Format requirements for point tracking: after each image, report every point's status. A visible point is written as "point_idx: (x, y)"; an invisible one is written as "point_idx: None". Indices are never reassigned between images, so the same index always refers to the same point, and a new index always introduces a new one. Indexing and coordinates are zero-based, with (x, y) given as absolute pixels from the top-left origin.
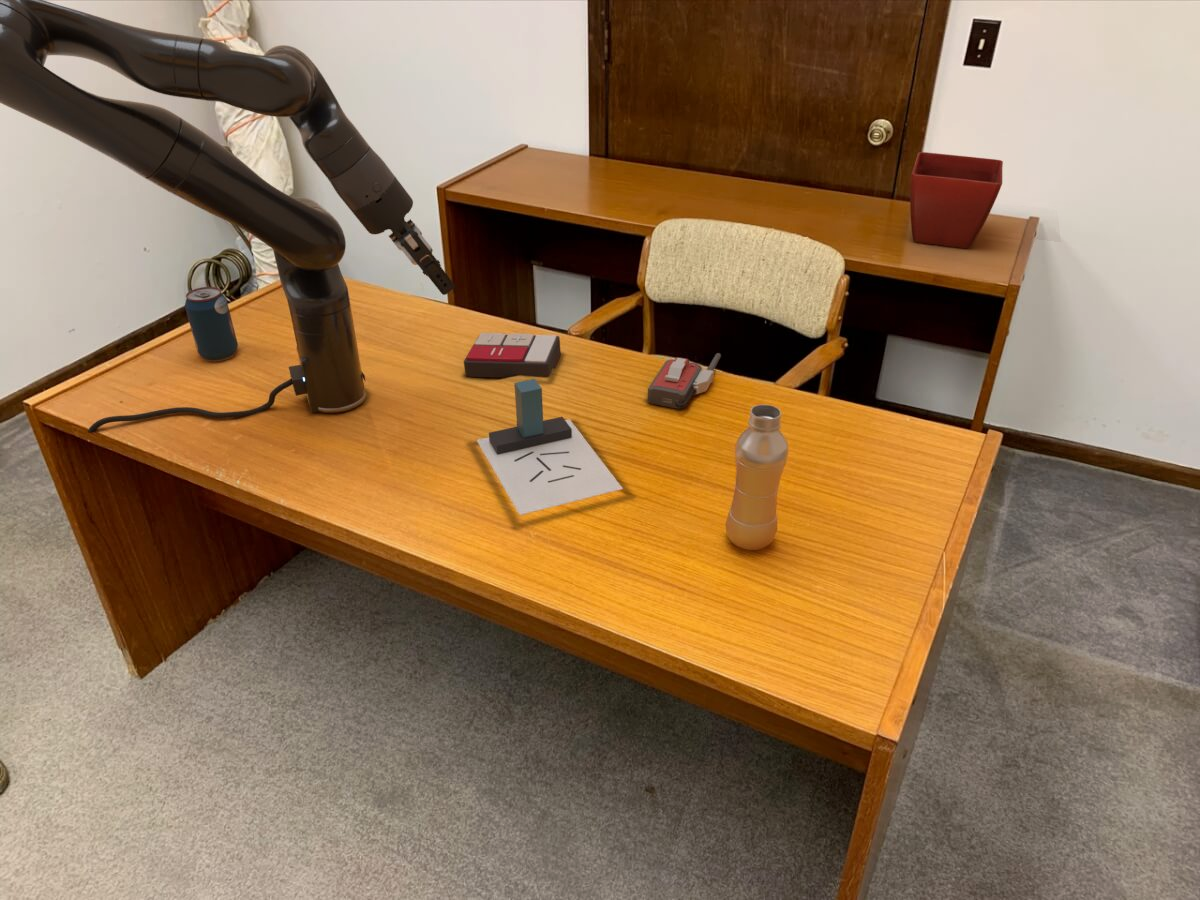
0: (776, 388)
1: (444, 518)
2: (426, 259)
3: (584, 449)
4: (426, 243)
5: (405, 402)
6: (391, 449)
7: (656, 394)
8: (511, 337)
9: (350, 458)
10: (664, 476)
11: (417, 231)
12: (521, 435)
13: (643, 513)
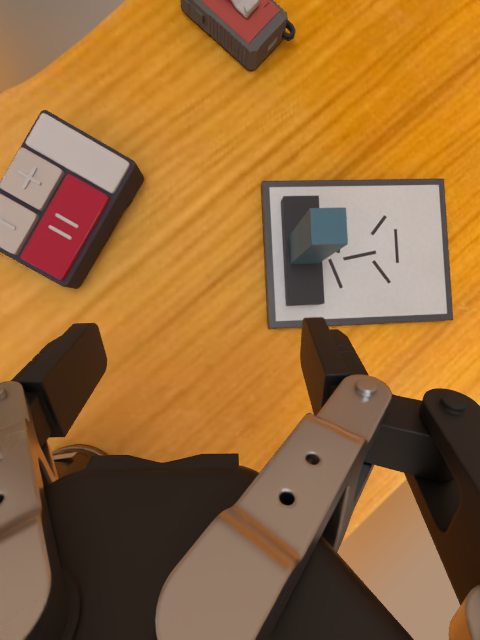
0: None
1: (405, 393)
2: (66, 382)
3: (346, 196)
4: (349, 476)
5: (123, 390)
6: (241, 429)
7: (263, 49)
8: (18, 187)
9: None
10: (412, 129)
11: (288, 591)
12: (311, 264)
13: (468, 181)
